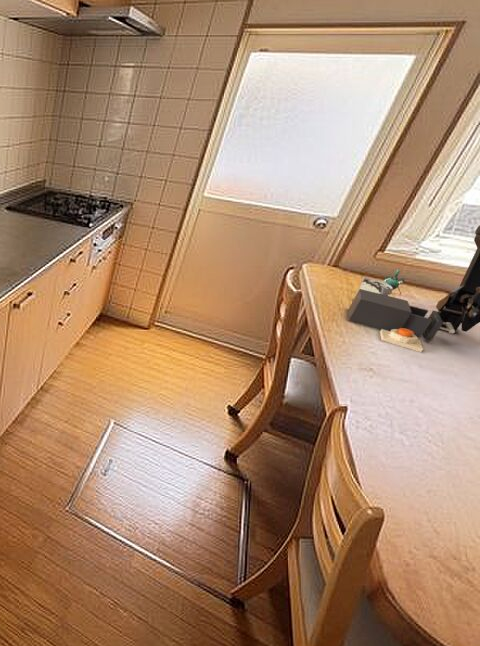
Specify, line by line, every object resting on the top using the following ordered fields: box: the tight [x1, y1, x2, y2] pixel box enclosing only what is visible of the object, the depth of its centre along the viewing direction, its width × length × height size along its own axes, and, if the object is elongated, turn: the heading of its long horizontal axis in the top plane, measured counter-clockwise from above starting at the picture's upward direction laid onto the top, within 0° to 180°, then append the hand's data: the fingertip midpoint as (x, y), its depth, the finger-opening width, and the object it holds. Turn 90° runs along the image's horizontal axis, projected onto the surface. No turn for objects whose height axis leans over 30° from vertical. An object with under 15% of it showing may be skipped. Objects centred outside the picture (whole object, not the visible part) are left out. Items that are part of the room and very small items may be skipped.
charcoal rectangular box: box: [347, 288, 412, 331], centre depth 152 cm, size 14×13×9 cm
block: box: [379, 329, 424, 353], centre depth 141 cm, size 10×8×3 cm
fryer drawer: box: [402, 304, 455, 342], centre depth 146 cm, size 17×11×7 cm
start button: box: [397, 328, 414, 337], centre depth 140 cm, size 4×4×2 cm
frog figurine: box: [382, 269, 405, 296], centre depth 170 cm, size 10×18×15 cm, turn 146°
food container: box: [355, 277, 393, 296], centre depth 164 cm, size 12×6×10 cm, turn 168°
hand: (463, 330), depth 140 cm, fingers closed
